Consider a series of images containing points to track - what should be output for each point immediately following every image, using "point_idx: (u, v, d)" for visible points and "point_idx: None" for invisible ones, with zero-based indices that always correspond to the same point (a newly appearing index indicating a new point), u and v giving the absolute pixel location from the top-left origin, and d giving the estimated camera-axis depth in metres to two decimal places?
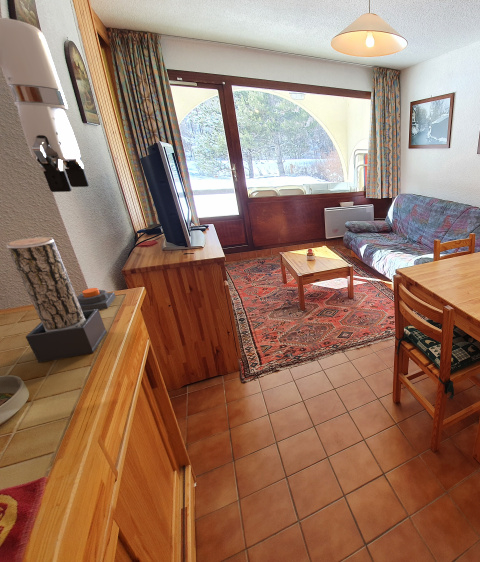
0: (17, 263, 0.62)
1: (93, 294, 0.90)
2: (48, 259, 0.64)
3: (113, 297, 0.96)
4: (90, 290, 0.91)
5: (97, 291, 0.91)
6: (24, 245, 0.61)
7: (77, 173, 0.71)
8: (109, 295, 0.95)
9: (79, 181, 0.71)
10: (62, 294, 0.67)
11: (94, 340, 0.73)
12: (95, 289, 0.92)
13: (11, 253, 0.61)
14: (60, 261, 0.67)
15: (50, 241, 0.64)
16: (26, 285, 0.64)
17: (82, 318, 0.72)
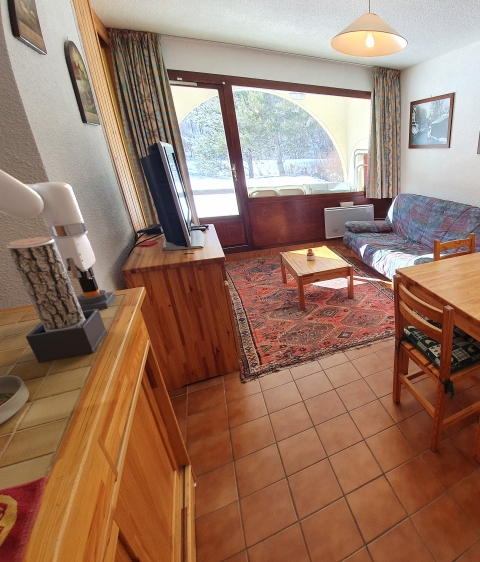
0: (17, 263, 0.62)
1: (93, 295, 0.91)
2: (48, 259, 0.64)
3: (113, 297, 0.96)
4: None
5: (97, 292, 0.92)
6: (24, 245, 0.61)
7: None
8: (109, 295, 0.95)
9: None
10: (62, 294, 0.67)
11: (94, 340, 0.73)
12: None
13: (11, 253, 0.61)
14: (60, 261, 0.67)
15: (50, 241, 0.64)
16: (26, 285, 0.64)
17: (82, 318, 0.72)
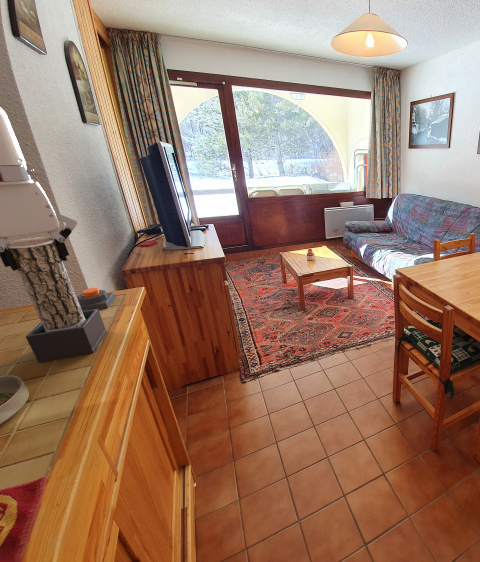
0: (17, 263, 0.62)
1: (93, 294, 0.90)
2: (48, 259, 0.64)
3: (113, 297, 0.96)
4: (90, 290, 0.91)
5: (97, 291, 0.91)
6: (24, 245, 0.61)
7: None
8: (109, 295, 0.95)
9: None
10: (62, 294, 0.67)
11: (94, 340, 0.73)
12: (95, 289, 0.92)
13: (11, 253, 0.61)
14: (60, 261, 0.67)
15: (50, 241, 0.64)
16: (26, 285, 0.64)
17: (82, 318, 0.72)
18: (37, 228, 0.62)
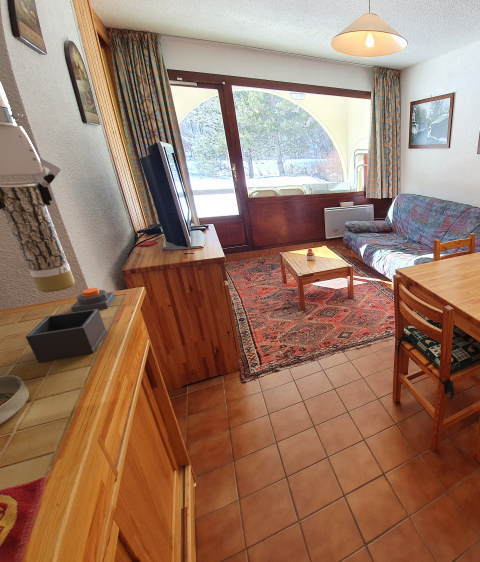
0: (1, 202, 0.66)
1: (93, 294, 0.90)
2: (31, 200, 0.68)
3: (113, 297, 0.96)
4: (90, 290, 0.91)
5: (97, 291, 0.91)
6: (8, 185, 0.65)
7: (40, 191, 0.70)
8: (109, 295, 0.95)
9: None
10: (45, 236, 0.71)
11: (94, 340, 0.73)
12: (95, 289, 0.92)
13: None
14: (43, 205, 0.70)
15: (33, 184, 0.68)
16: (10, 225, 0.68)
17: (65, 262, 0.76)
18: (21, 170, 0.66)
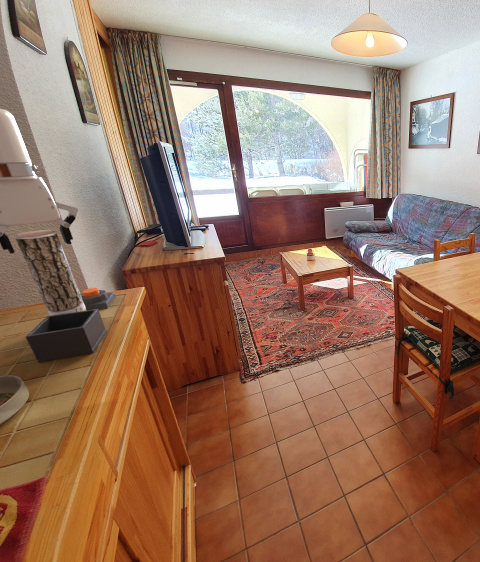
0: (24, 252, 0.71)
1: (93, 294, 0.90)
2: (51, 249, 0.73)
3: (113, 297, 0.96)
4: (90, 290, 0.91)
5: (97, 291, 0.91)
6: (30, 236, 0.70)
7: (62, 232, 0.76)
8: (109, 295, 0.95)
9: (64, 239, 0.76)
10: (64, 280, 0.76)
11: (94, 340, 0.73)
12: (95, 289, 0.92)
13: (19, 243, 0.70)
14: (62, 251, 0.75)
15: (53, 233, 0.73)
16: (32, 272, 0.73)
17: (81, 302, 0.81)
18: (40, 218, 0.71)
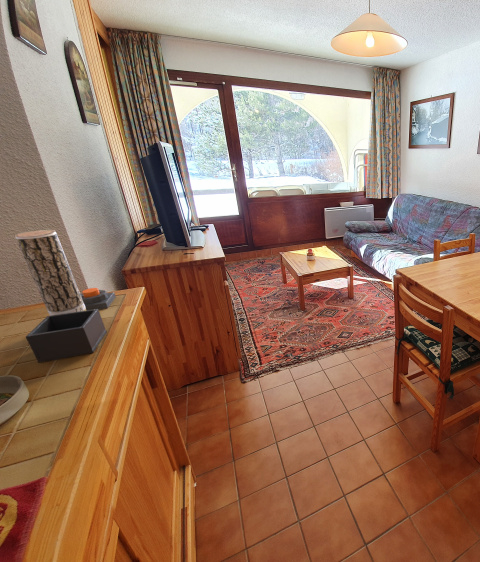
0: (24, 252, 0.71)
1: (93, 294, 0.90)
2: (51, 249, 0.73)
3: (113, 297, 0.96)
4: (90, 290, 0.91)
5: (97, 291, 0.91)
6: (30, 236, 0.70)
7: None
8: (109, 295, 0.95)
9: None
10: (64, 280, 0.76)
11: (94, 340, 0.73)
12: (95, 289, 0.92)
13: (19, 243, 0.70)
14: (62, 251, 0.75)
15: (53, 233, 0.73)
16: (32, 272, 0.73)
17: (81, 302, 0.81)
18: None
